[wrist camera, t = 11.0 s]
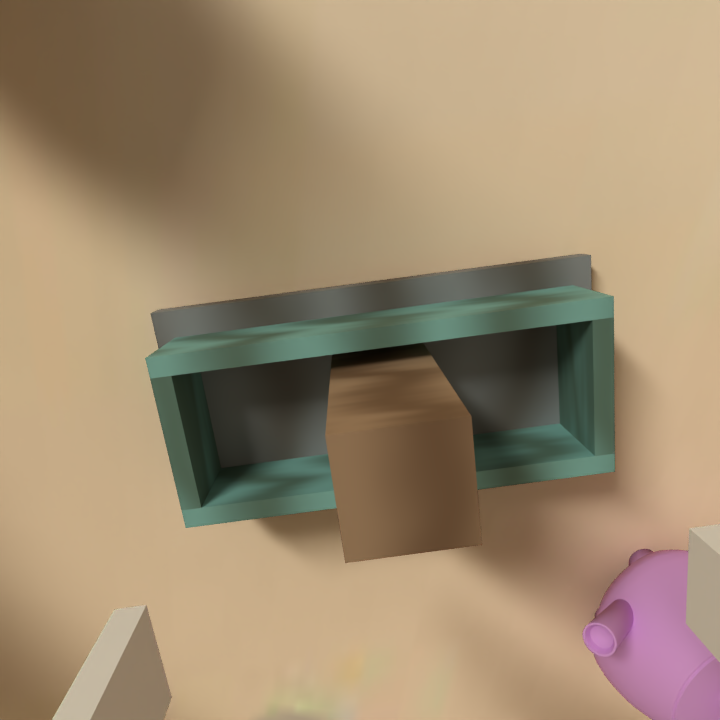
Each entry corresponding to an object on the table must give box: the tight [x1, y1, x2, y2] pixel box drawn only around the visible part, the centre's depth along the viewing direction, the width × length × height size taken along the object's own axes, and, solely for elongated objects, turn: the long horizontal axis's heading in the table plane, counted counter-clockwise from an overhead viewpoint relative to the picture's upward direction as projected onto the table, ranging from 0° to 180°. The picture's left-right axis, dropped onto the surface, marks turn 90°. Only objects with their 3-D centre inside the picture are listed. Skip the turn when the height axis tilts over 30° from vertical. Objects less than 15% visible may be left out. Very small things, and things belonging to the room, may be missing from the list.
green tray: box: [145, 254, 615, 528], centre depth 29 cm, size 24×12×6 cm, turn 97°
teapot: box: [583, 549, 720, 720], centre depth 31 cm, size 10×15×9 cm
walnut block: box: [325, 343, 482, 563], centre depth 24 cm, size 5×5×12 cm
